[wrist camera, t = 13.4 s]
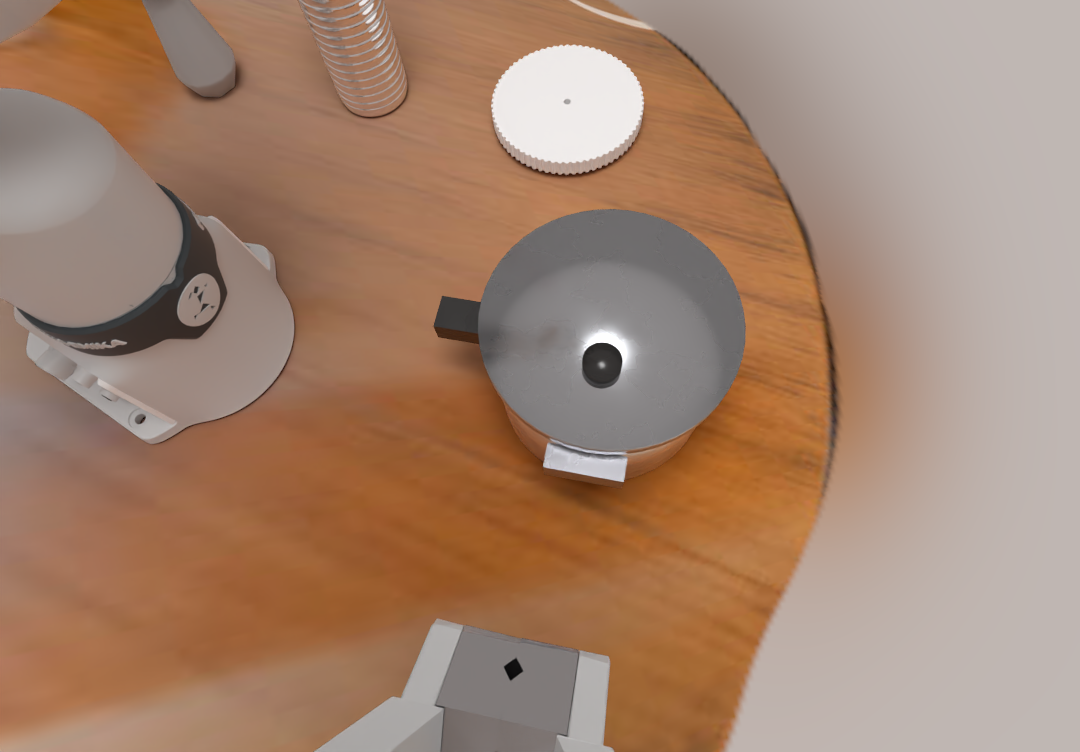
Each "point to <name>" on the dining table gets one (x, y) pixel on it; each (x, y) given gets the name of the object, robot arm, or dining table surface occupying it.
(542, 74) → the plastic lid
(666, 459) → the cooker pot
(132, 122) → the dining table surface
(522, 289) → the cooker lid
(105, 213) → the robot arm
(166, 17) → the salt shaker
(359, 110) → the water bottle
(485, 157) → the dining table surface
